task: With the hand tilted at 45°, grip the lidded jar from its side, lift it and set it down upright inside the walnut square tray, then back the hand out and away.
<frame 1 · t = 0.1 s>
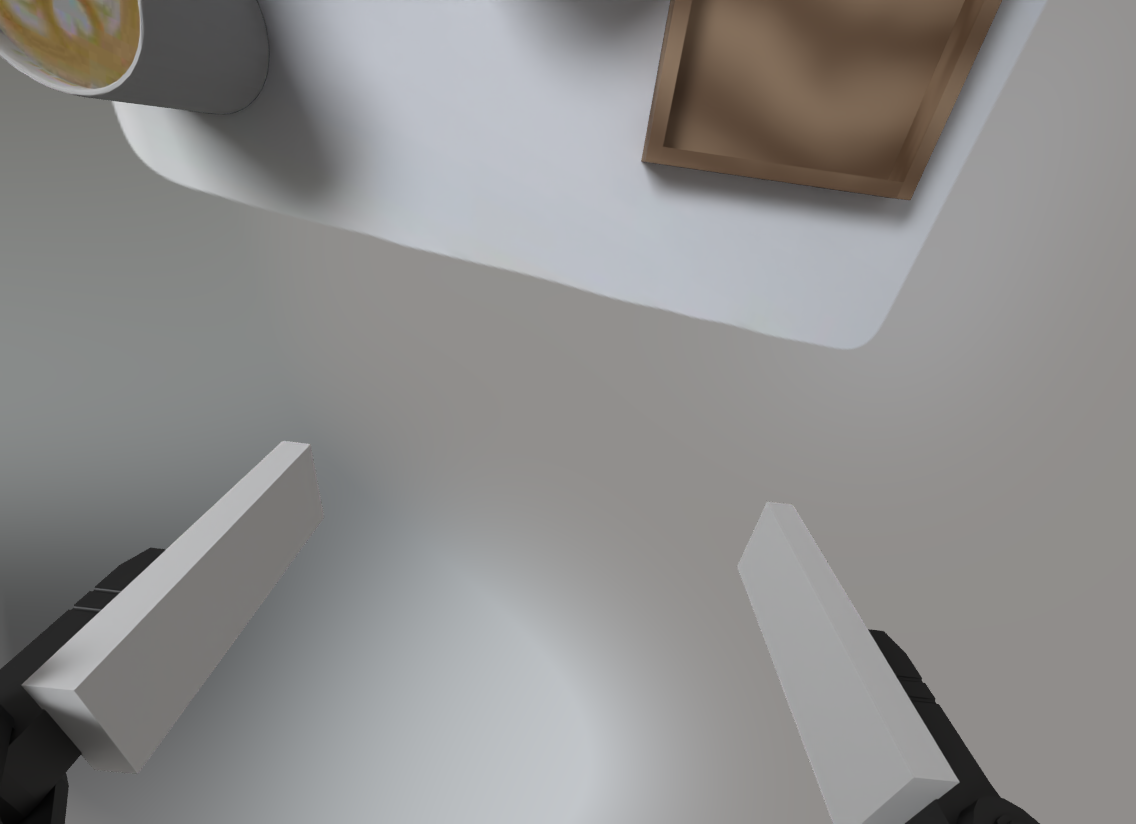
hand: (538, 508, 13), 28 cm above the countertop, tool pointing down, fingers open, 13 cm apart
walnut square tray: (817, 14, 29), on the countertop
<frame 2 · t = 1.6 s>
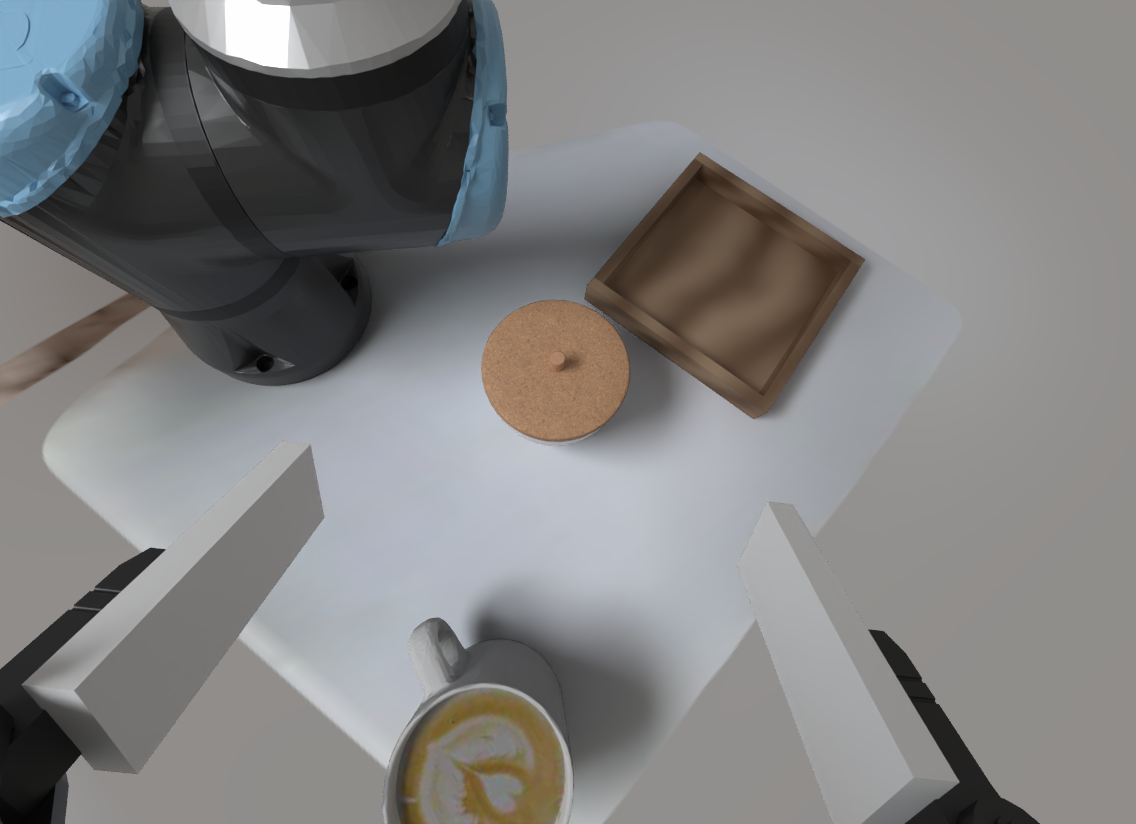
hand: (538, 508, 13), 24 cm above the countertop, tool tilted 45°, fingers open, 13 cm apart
walnut square tray: (720, 286, 43), on the countertop
lidded jar: (552, 397, 39), on the countertop
coffee mug: (488, 687, 33), on the countertop
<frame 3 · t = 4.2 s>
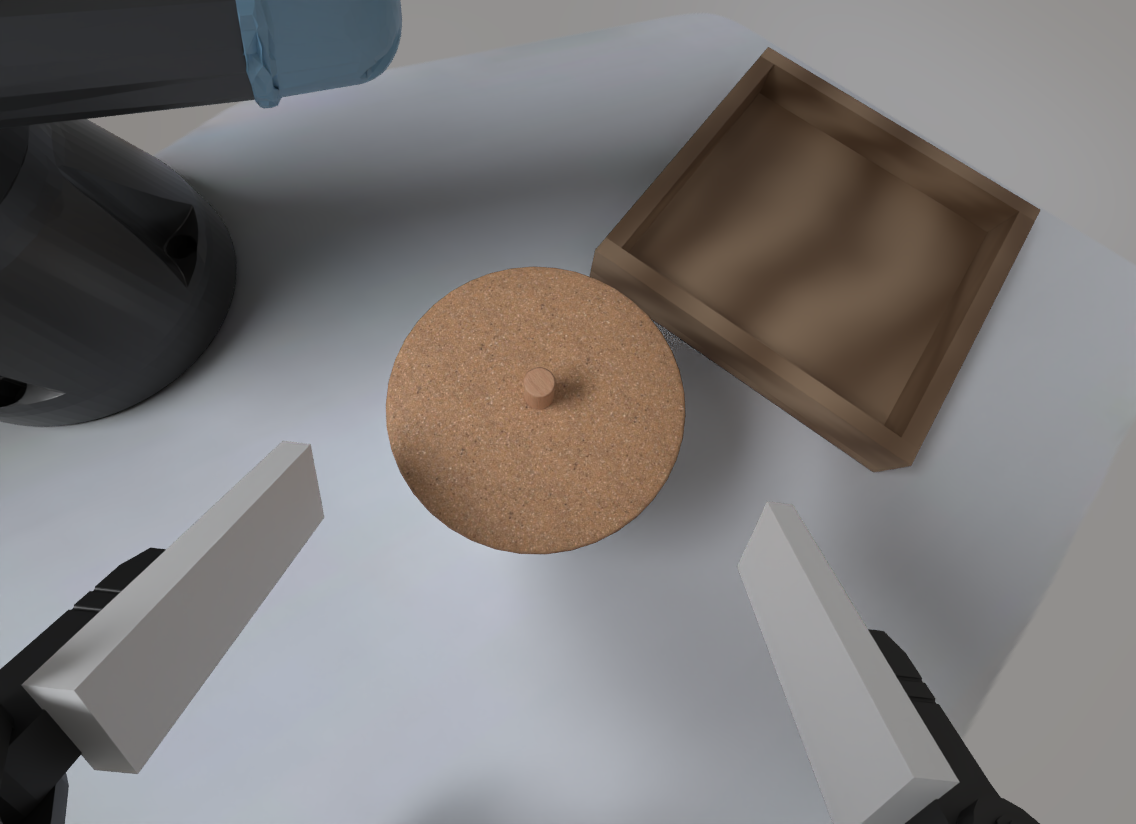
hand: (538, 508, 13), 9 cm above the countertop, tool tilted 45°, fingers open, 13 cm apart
walnut square tray: (804, 255, 27), on the countertop
lidded jar: (538, 440, 23), on the countertop
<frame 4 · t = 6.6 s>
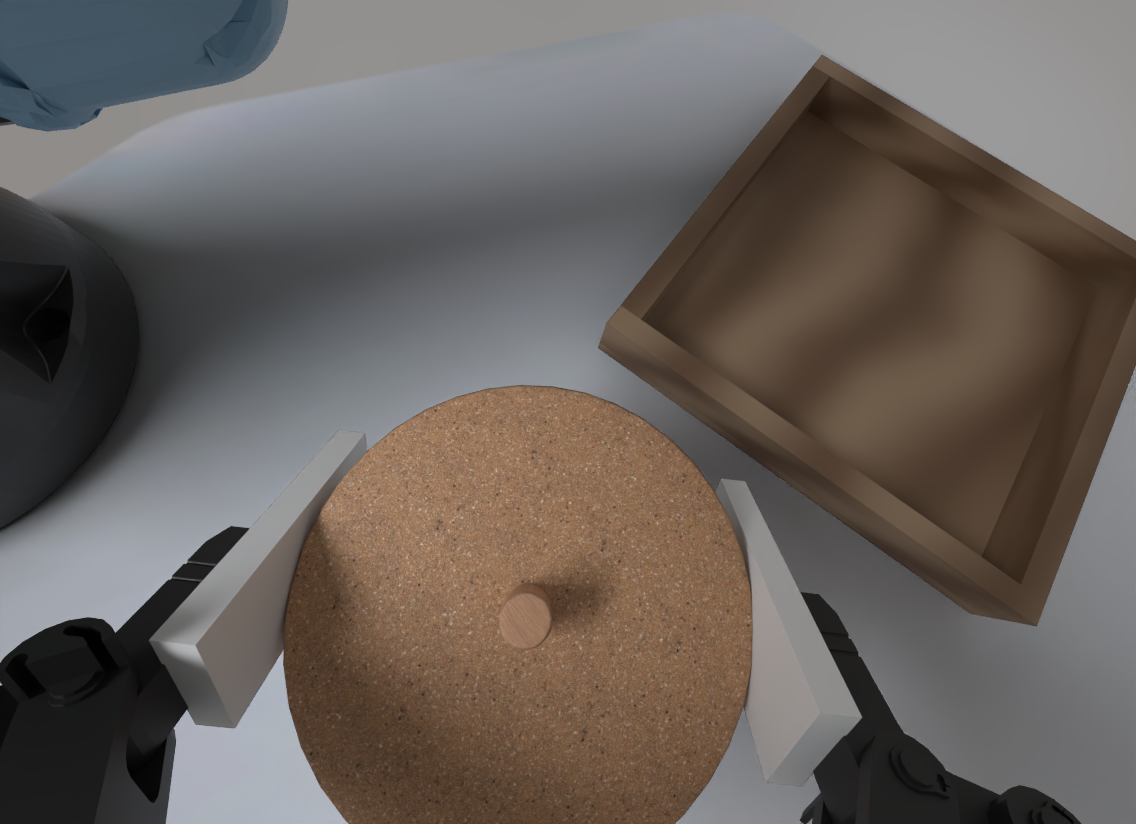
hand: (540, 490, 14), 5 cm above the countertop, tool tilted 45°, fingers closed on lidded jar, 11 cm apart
walnut square tray: (869, 317, 22), on the countertop
lidded jar: (531, 574, 18), on the countertop, touching gripper
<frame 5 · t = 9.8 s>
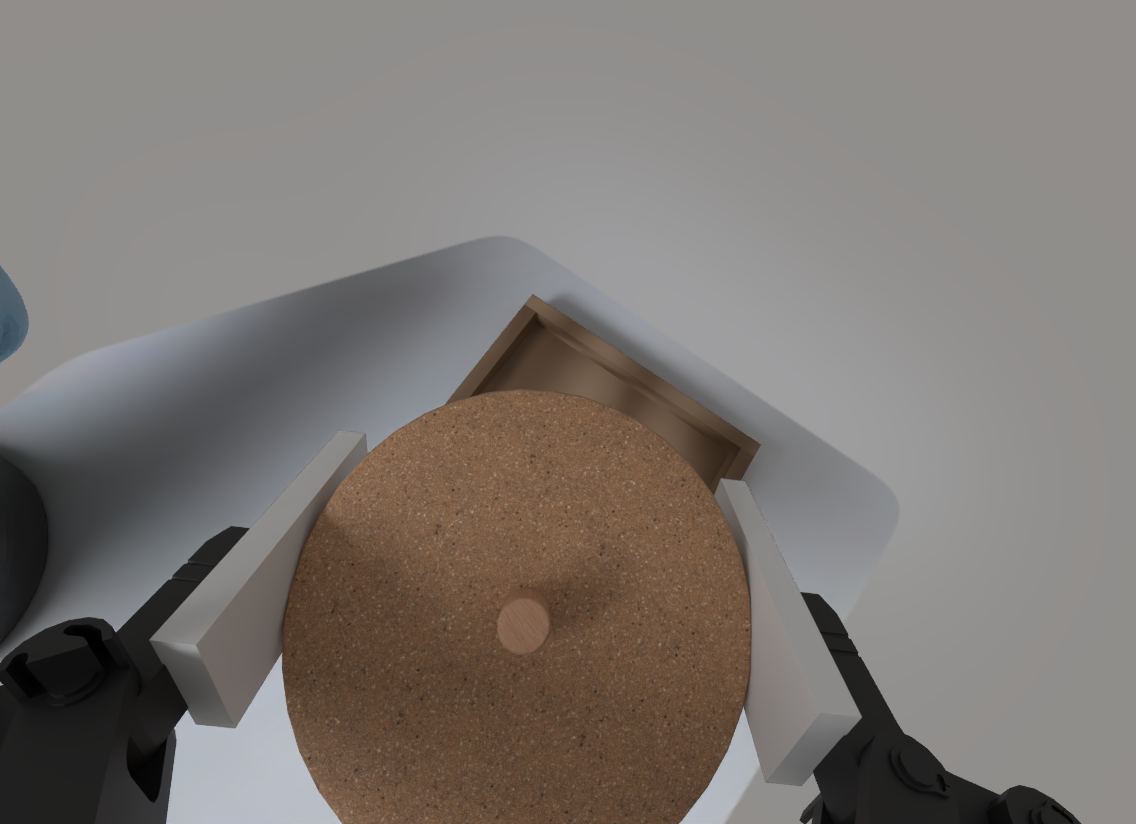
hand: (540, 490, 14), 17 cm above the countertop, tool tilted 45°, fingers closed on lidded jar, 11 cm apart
walnut square tray: (565, 483, 31), on the countertop
lidded jar: (530, 577, 18), point 13 cm above the countertop, touching gripper
when the fingers open (6 cm above the countertop, at t = 13.3 s): lidded jar stays where it is, resting on walnut square tray.
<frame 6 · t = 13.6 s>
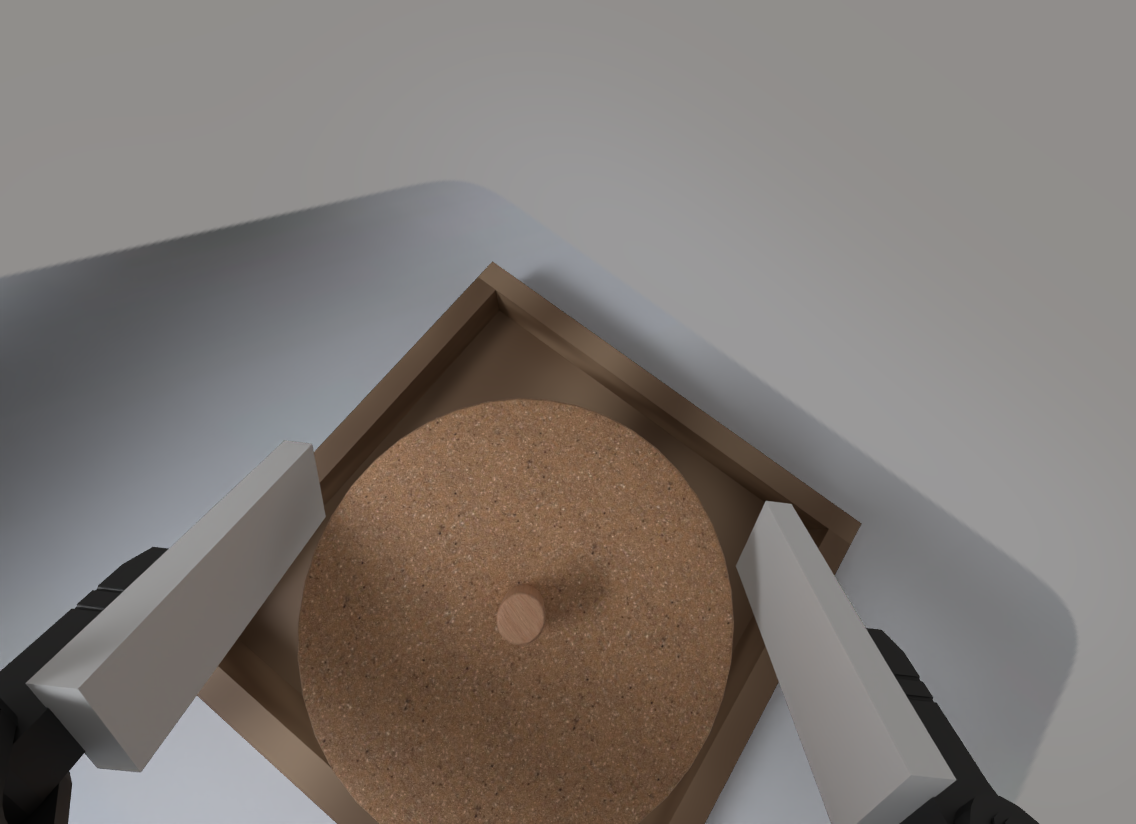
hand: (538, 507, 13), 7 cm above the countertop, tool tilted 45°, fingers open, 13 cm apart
walnut square tray: (530, 571, 19), on the countertop
lidded jar: (528, 574, 19), resting on walnut square tray
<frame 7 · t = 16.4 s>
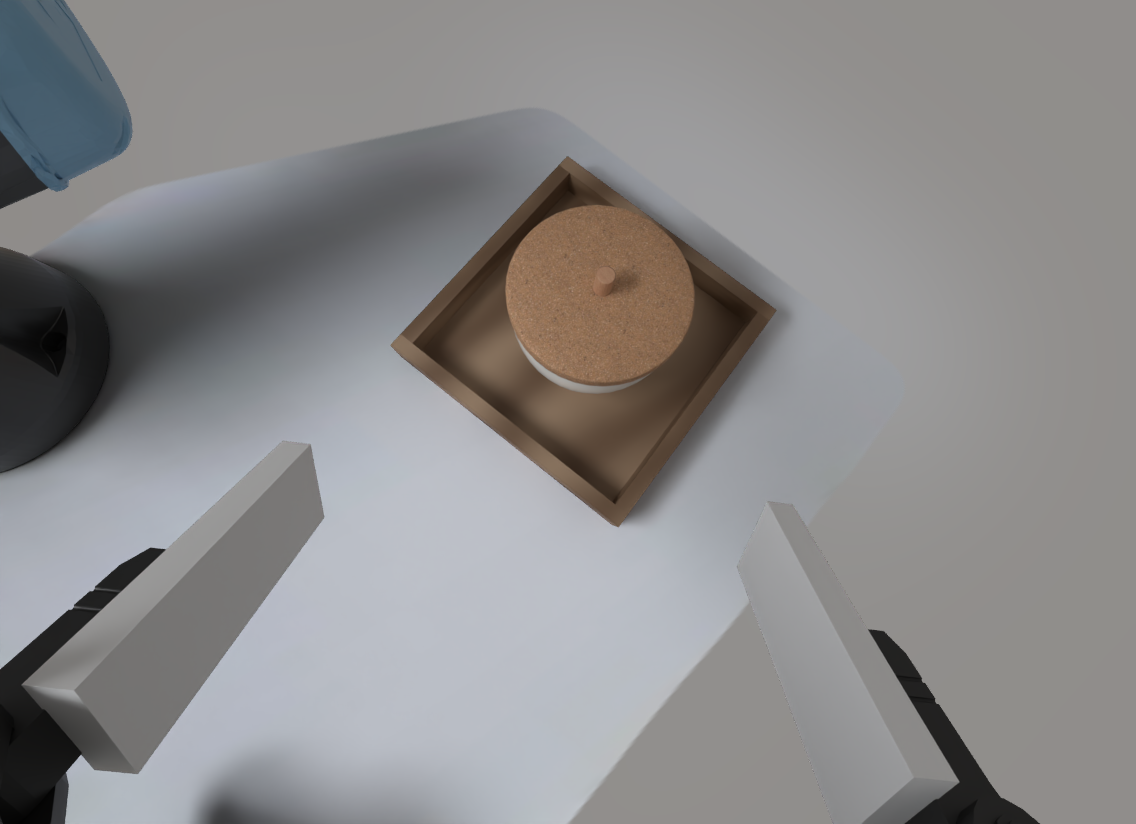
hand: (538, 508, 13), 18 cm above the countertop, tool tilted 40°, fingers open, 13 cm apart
walnut square tray: (587, 339, 33), on the countertop
lidded jar: (586, 338, 33), resting on walnut square tray
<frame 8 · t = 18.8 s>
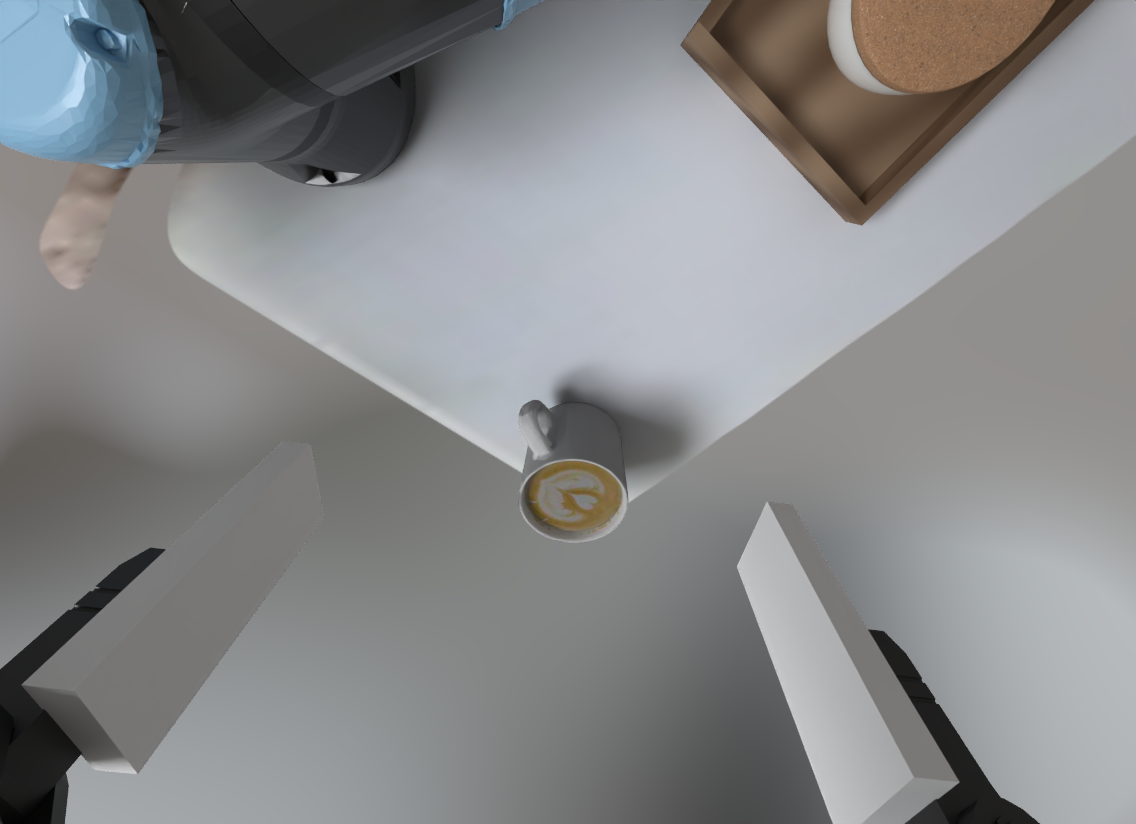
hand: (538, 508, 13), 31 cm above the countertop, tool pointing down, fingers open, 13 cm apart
walnut square tray: (879, 10, 30), on the countertop
lidded jar: (881, 10, 30), resting on walnut square tray
coffee mug: (569, 428, 48), on the countertop
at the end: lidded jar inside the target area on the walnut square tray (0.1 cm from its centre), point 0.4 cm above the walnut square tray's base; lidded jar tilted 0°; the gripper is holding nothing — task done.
